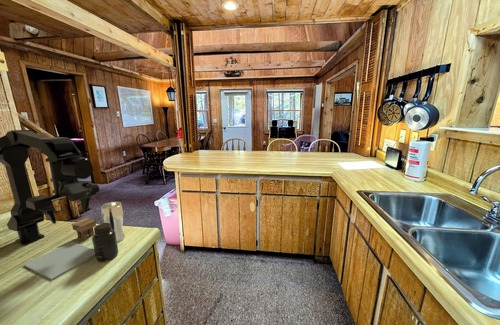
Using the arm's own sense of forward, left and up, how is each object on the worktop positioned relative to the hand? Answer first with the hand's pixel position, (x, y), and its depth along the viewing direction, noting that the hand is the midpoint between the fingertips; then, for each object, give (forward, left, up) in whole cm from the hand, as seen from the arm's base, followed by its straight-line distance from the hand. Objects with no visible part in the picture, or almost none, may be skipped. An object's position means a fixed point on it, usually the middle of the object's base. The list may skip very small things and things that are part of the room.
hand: (70, 217), depth 73 cm
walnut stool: (-8, +8, -14) cm, 18 cm away
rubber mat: (0, -4, -14) cm, 14 cm away
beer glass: (+5, +11, -14) cm, 19 cm away
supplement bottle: (+13, +3, -14) cm, 19 cm away
